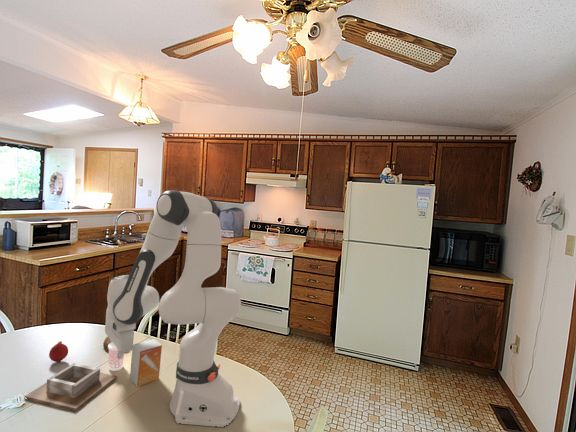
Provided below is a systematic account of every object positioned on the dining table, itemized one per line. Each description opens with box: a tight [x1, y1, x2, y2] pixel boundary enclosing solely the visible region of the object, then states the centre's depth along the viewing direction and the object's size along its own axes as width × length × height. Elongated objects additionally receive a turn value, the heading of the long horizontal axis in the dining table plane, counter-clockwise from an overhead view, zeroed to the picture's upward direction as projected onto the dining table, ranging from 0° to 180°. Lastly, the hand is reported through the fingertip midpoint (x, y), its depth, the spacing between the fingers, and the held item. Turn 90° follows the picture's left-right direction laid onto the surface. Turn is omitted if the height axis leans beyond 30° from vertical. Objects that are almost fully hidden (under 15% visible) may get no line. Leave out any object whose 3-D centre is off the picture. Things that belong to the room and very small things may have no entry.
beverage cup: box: [108, 342, 125, 372], centre depth 121 cm, size 6×6×14 cm
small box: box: [129, 338, 163, 388], centre depth 116 cm, size 8×6×13 cm
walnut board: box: [24, 362, 117, 412], centre depth 107 cm, size 18×18×5 cm
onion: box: [48, 340, 69, 363], centre depth 120 cm, size 6×6×8 cm
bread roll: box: [103, 335, 110, 352], centre depth 137 cm, size 10×10×8 cm
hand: (116, 353), depth 121 cm, fingers closed on beverage cup, 6 cm apart
